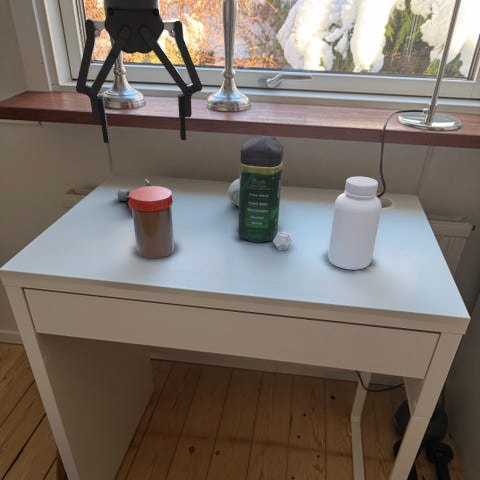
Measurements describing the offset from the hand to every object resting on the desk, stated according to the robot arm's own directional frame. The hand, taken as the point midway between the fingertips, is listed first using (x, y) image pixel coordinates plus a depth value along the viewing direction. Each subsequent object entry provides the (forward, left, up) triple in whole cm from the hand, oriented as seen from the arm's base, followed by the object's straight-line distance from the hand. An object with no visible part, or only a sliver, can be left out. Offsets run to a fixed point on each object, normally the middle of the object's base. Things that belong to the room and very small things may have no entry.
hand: (145, 139), depth 77 cm
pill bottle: (+35, -10, -20) cm, 42 cm away
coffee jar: (+21, +4, -20) cm, 30 cm away
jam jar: (0, 0, -20) cm, 20 cm away
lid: (0, 0, -10) cm, 10 cm away
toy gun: (-3, +22, -20) cm, 30 cm away
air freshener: (+23, +19, -20) cm, 36 cm away
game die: (+24, -3, -20) cm, 32 cm away
